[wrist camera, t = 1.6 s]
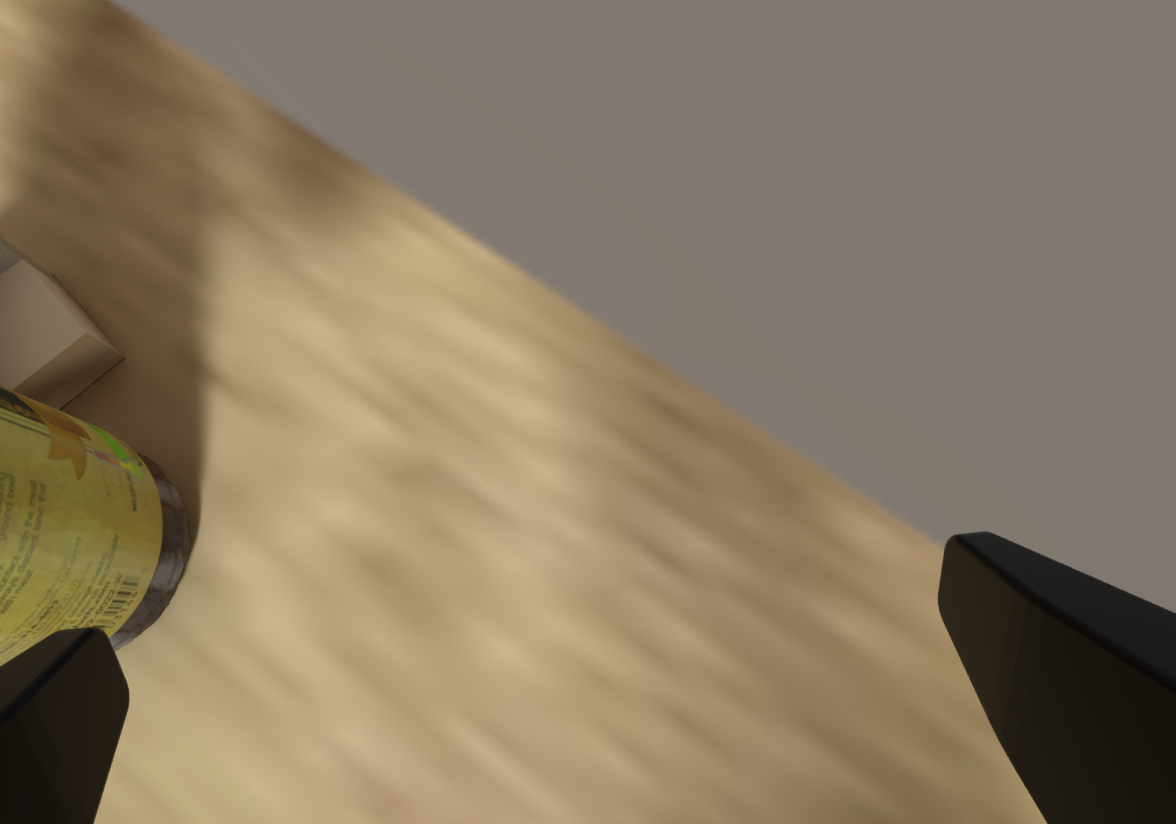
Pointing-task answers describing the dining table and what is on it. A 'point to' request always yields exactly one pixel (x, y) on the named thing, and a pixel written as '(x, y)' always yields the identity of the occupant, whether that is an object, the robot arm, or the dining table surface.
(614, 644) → the dining table surface
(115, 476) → the sauce bottle
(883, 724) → the dining table surface
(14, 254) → the rail
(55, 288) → the shelf plank
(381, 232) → the dining table surface
